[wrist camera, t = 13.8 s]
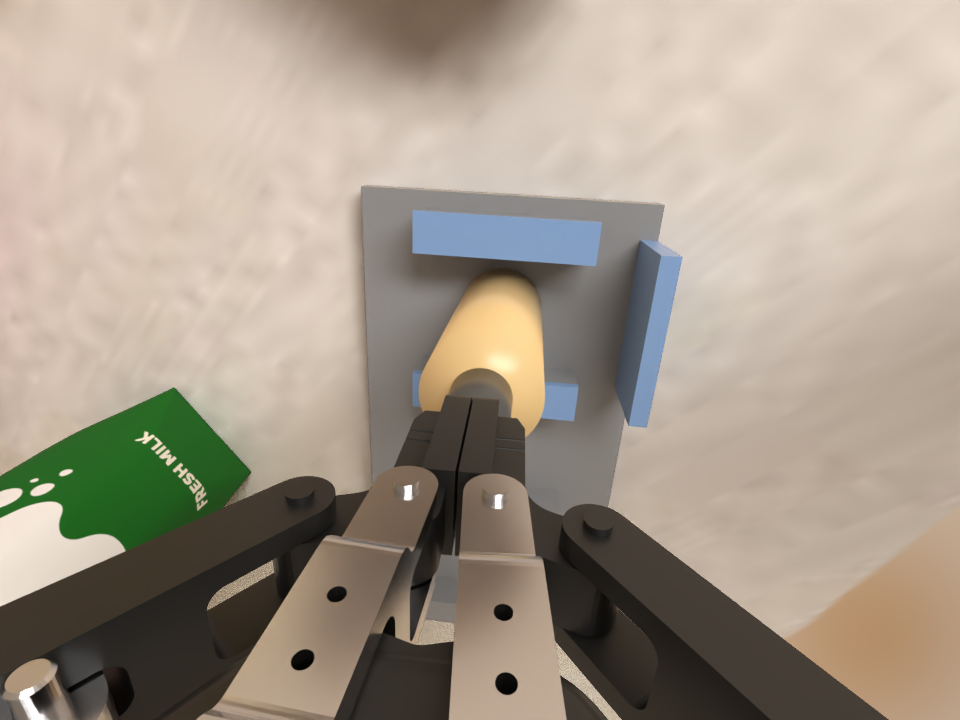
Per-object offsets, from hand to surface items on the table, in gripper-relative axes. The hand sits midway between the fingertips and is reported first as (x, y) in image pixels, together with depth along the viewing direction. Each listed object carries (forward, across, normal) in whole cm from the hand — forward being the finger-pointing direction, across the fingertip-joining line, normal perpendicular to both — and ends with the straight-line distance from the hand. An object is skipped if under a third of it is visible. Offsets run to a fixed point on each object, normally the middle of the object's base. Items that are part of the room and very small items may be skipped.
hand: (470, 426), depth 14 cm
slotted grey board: (+13, 0, +8) cm, 15 cm away
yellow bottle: (+12, 0, 0) cm, 12 cm away
